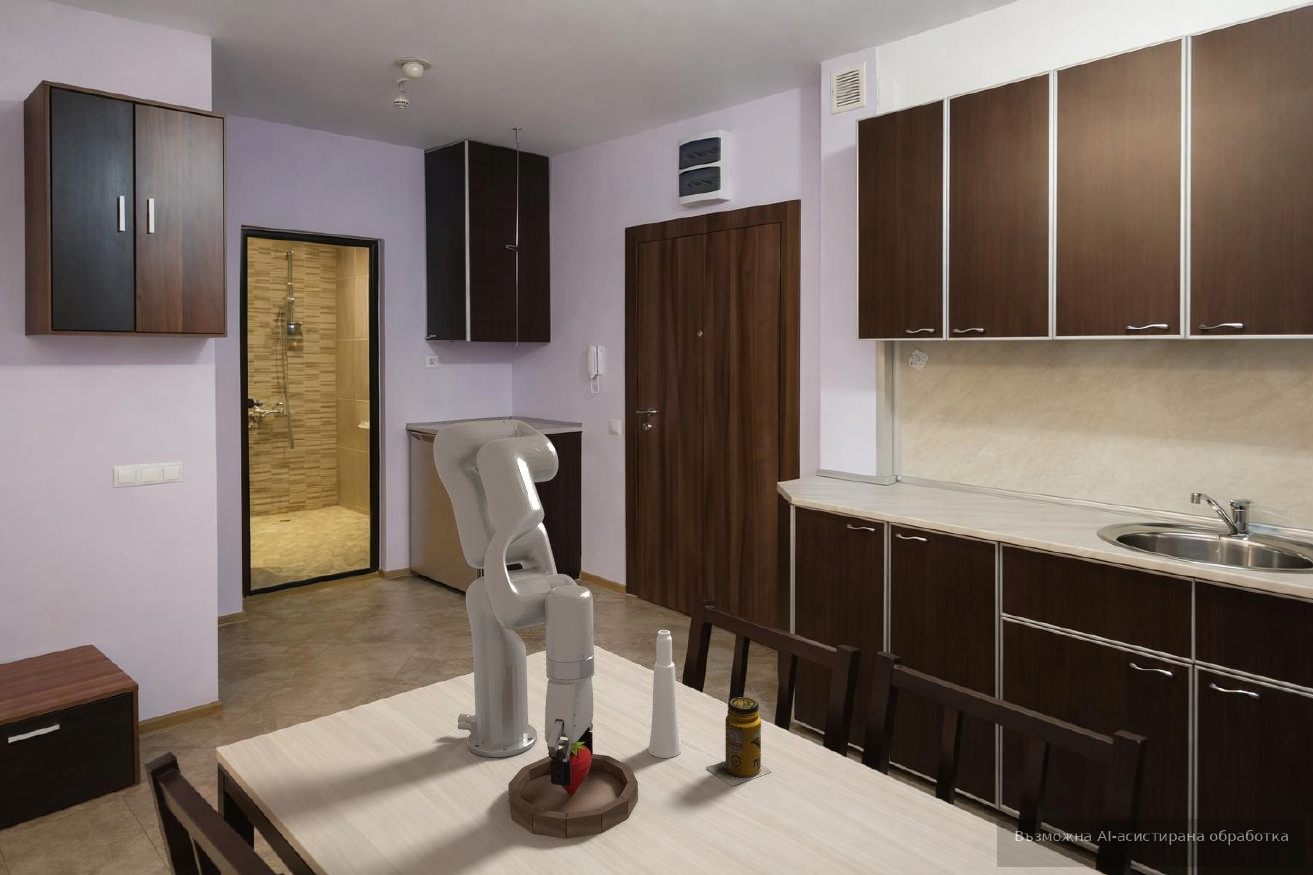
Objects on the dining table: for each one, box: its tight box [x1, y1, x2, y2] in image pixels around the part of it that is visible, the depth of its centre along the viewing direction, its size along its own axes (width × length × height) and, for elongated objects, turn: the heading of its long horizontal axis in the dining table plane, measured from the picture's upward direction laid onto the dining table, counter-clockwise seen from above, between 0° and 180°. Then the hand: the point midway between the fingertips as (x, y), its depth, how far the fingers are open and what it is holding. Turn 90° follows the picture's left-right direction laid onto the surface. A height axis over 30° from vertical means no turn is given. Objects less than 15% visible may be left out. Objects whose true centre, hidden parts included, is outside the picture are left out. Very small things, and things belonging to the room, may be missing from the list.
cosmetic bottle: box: [647, 629, 683, 759], centre depth 149 cm, size 6×6×22 cm
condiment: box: [706, 696, 772, 787], centre depth 142 cm, size 7×8×12 cm
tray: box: [507, 753, 639, 839], centre depth 133 cm, size 20×20×3 cm
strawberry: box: [559, 742, 592, 795], centre depth 133 cm, size 6×8×10 cm
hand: (572, 768), depth 133 cm, fingers open, 9 cm apart
